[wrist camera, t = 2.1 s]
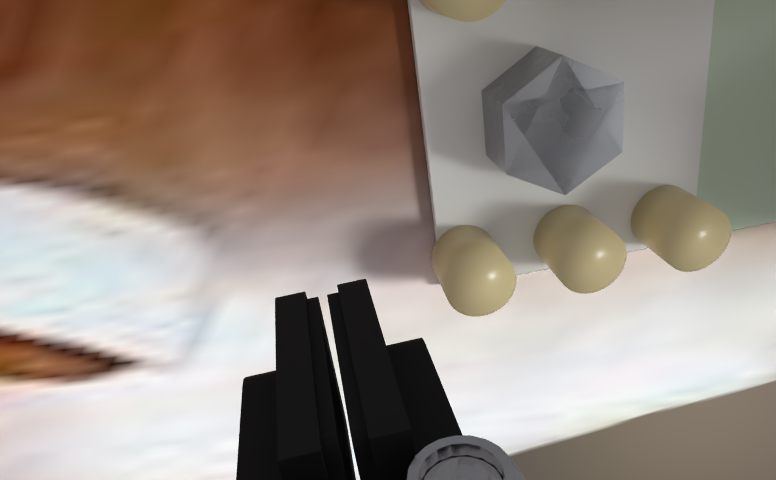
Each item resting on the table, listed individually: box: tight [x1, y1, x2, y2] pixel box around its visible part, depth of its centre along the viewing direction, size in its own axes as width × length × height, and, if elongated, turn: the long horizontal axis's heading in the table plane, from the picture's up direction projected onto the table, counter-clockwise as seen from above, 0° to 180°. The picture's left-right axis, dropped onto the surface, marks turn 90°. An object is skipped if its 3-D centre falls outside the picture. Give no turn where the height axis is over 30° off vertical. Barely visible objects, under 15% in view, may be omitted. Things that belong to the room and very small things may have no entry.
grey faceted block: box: [481, 46, 625, 195], centre depth 22 cm, size 4×5×2 cm
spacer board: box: [407, 0, 776, 316], centre depth 23 cm, size 17×14×3 cm
